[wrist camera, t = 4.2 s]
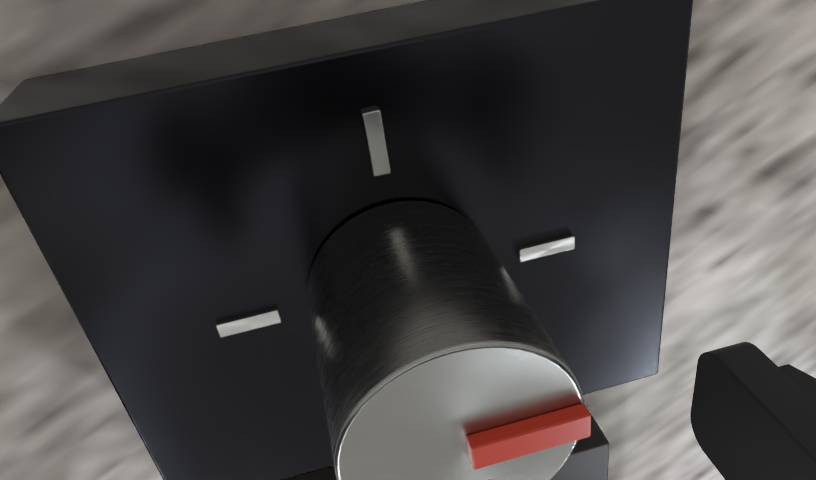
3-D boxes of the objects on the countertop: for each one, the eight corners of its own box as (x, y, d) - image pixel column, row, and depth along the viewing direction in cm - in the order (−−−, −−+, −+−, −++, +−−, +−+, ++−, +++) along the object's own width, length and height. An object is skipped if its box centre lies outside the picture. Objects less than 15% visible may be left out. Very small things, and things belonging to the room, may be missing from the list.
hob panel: (185, 426, 20) (177, 514, 17) (22, 79, 14) (-30, 131, 11) (609, 314, 21) (661, 378, 19) (621, -39, 15) (701, -19, 13)
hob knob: (328, 375, 16) (363, 574, 11) (286, 224, 14) (309, 402, 9) (496, 331, 16) (591, 505, 12) (483, 179, 14) (596, 325, 10)
